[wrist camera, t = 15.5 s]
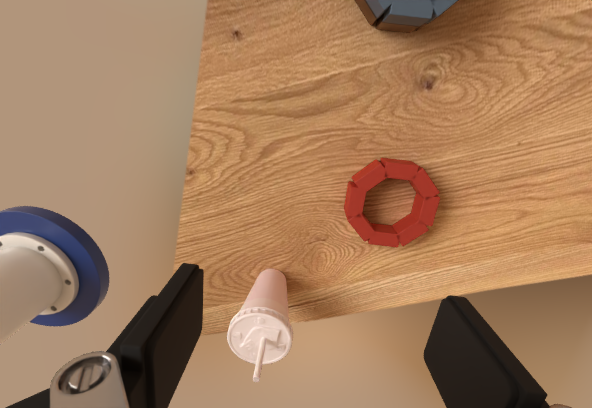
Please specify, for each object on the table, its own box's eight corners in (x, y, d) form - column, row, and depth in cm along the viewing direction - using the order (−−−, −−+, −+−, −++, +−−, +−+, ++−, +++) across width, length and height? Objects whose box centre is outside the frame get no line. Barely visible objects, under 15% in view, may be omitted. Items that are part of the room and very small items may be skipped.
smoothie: (306, 288, 37) (304, 392, 24) (265, 309, 38) (242, 419, 25) (278, 250, 35) (259, 339, 22) (236, 273, 36) (195, 371, 23)
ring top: (339, 231, 34) (341, 241, 32) (353, 154, 31) (356, 158, 29) (417, 241, 34) (425, 250, 32) (438, 164, 31) (449, 169, 28)
